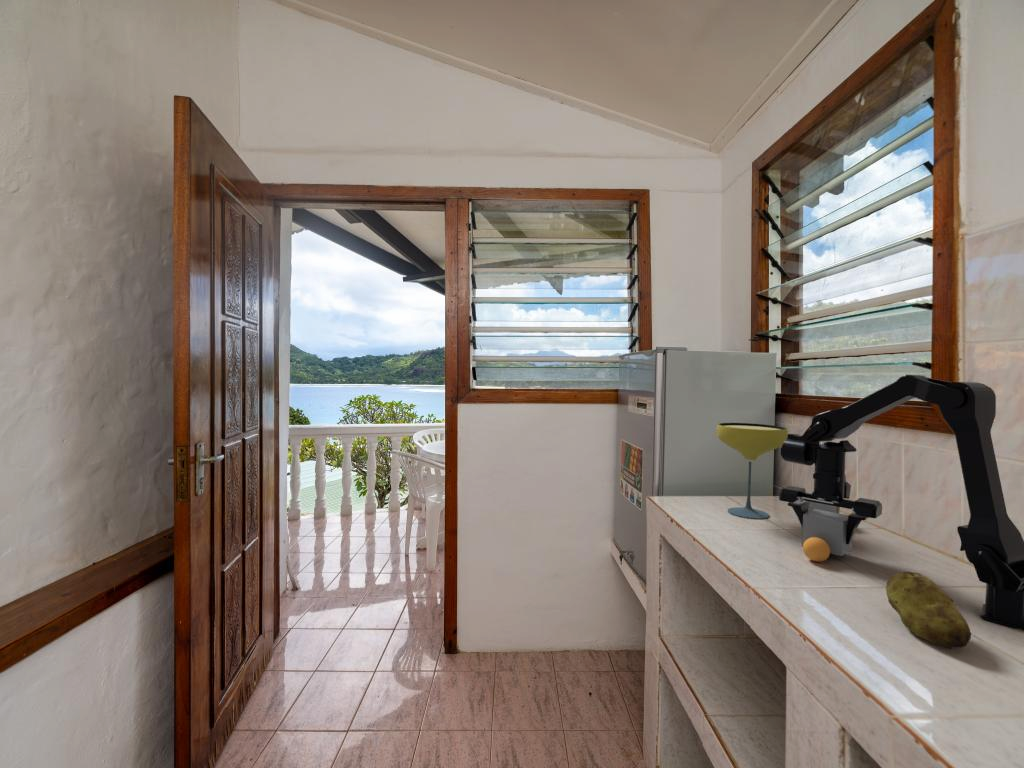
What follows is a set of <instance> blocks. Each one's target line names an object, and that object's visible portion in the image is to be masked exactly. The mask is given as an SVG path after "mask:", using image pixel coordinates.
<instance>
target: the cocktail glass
mask: <svg viewBox="0 0 1024 768" xmlns="http://www.w3.org/2000/svg"><path fill="white" fill-rule="evenodd" d="M788 432H789V431H788V428H786V427H784V426H778V425H772V424H763V423H750V422H748V423H747V422H722V423H718V425H717V427H716V435H717V438H719V440H720V441H721V442H723V443H724V444H725V445H727V446H728V447H729V448H731V449H734V450H735V451H737V452H738V453H740V454H741V455H742V457H743V458H744V459H745V461H747V462H748V477H747V479H748V480H747V481H748V482H747V495H746V502H745V506H744V507H743V506H741V507H740V506H736V507H729V508H727V512H728V513H729V514H730V515H733V516H735V517H739V518H744V519H749V518H751V520H765V519H764V518H766V519H768V518H769V517H770V514H769V513H768V512H766V511H763V510H761V509H757V508H753V507H752V504H751V483H752V482H751V479H752V478H751V477H752V463H754V462H755V461H756V460H757V459H758V458H759V457H760V456H762V455H763V454H765V453H768V452H772V451H774V450H776V449H778V448H781V447H782V445H783V443H784V441H785V440H786V439H787V437H788V434H789V433H788Z"/></svg>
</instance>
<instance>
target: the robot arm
mask: <svg viewBox="0 0 1024 768" xmlns="http://www.w3.org/2000/svg"><path fill="white" fill-rule="evenodd" d="M913 399H918V400H921V401H923V402H925V403H929V404H930V403H931V404H934V405H937V408H938V409H939V412H940V415H941V417H942V419H943V421H945V423H946V424H947V426H948V427H949V428H950V429H951V431H952V432H953V435H954V437H955V441H956V443H955V444H956V447H957V452H958V459H959V462H960V469H961V474H962V476H963V484H964V489H965V494H966V498H967V499H966V500H967V504H968V509H969V513H970V514H969V515H970V516H969V521H968V523H967V524H965V525H959V526H957V534H958V536H959V539H960V548H959V551H960V552H964V553H965V556H966V559H967V560H968V562H969V563H970V564H972V565H973V567H974V570H975V574H976V576H977V578H978V581H979V582H981V583H984V584H986V585H985V600H984V601H985V603H983V604H982V606H981V610H980V614H979V618H980V619H982V620H983V619H984V620H986V621H989V622H993V623H997V624H999V625H1000V624H1001V625H1005V626H1008V627H1012V628H1016V629H1019V630H1023V631H1024V538H1023V536H1022V534H1021V531H1020V530H1019V529H1018V528H1017V526H1016V525H1015V524H1014V522H1013V521H1012V519H1011V518H1010V516H1009V515H1008V513H1007V507H1006V503H1005V497H1004V493H1003V489H1002V482H1001V478H1000V473H999V467H998V463H997V458H996V453H995V448H994V444H993V439H992V433H991V432H992V431H991V430H992V427H993V424H994V421H995V418H996V416H997V415H996V414H997V413H996V412H997V409H996V408H997V407H996V406H997V395H996V393H995V391H994V390H993V388H991V387H989V386H988V385H986V384H985V383H981V382H979V381H978V382H977V381H975V382H974V381H973V382H972V381H971V382H969V381H947V380H941V379H936V378H930V377H927V376H925V375H922V374H905V375H902V376H901V377H899V378H898V379H896V380H895V381H893V382H891V383H889V384H887V385H885V386H883V387H882V388H879V389H877V390H876V391H874V392H872V393H869V394H868V395H866V396H864V397H862V398H860V399H859V400H856V401H855V402H853V403H850V404H849V405H846V406H843V407H839V408H834V409H830V410H828V411H824V412H821V413H817V414H816V415H814V416H813V417H812V418H811V424H810V425H809V427H807V429H806V430H805V431H804V432H803V434H802V435H801V434H798V433H788V437H787V439H786V440H785V441H784V443H783V445H782V446H780V456H781V458H782V460H784V461H785V462H790V463H794V464H797V465H798V464H799V465H803V466H809V467H811V466H813V465H814V471H813V472H814V473H813V474H812V479H813V491H812V492H810V493H807V490H806V488H805V487H798V486H793V485H788V486H785V487H783V488H780V490H779V492H778V493H779V494H778V500H779V501H782V502H784V503H785V502H786V503H787V506H788V507H791V508H792V510H793V511H794V513H795V515H796V516H797V519H798V521H799V523H800V526H801V528H802V529H803V514H804V513H806V512H808V508H809V503H810V502H815V503H820V504H826V505H831V506H837V507H840V508H842V509H848V510H851V512H852V513H849V514H847V515H848V524H847V533H846V544H848V545H849V544H850V542H851V540H852V541H853V538H854V535H855V533H856V531H857V528H858V527H859V525H860V524H861V522H862V521H866V520H868V519H877V518H879V517H880V516H881V515H883V505H882V503H881V502H880V500H876V499H870V498H869V499H868V498H864V497H859V498H857V499H856V500H852V499H851V500H850V495H851V488H852V485H851V484H850V483H849V482H848V481H847V476H846V454H847V453H855V452H857V448H856V447H855V446H854V445H852V444H851V443H850V442H849V441H850V440H843V439H846V438H848V437H849V436H851V435H852V434H853V433H855V432H856V431H858V430H859V429H860V428H861V426H862V425H863V424H864V423H866V422H867V421H869V420H871V419H873V418H875V417H877V416H879V415H882V414H883V413H886V412H888V411H890V410H892V409H894V408H897V407H898V406H901V405H902V404H904V403H907V402H909V401H911V400H913ZM834 440H840V441H839V442H834ZM820 442H823V444H821V443H820ZM811 493H812V494H811ZM818 498H822V500H821V499H818ZM807 501H809V502H807ZM832 501H834V502H832ZM836 502H839V503H836Z"/></svg>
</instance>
